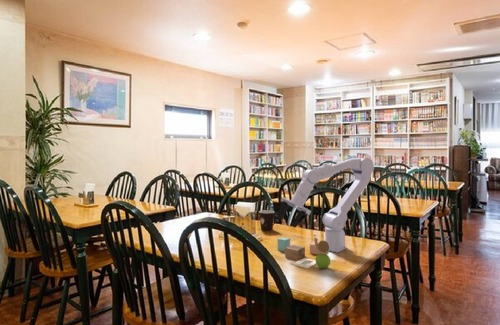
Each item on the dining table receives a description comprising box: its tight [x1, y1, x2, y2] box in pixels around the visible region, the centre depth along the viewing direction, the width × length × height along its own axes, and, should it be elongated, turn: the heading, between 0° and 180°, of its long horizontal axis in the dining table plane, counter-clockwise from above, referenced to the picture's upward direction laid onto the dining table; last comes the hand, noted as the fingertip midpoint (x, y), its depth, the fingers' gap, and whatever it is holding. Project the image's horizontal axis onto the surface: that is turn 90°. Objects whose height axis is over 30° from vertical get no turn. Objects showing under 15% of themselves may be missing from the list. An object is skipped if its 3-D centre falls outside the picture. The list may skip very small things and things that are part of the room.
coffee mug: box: [258, 209, 279, 232], centre depth 187 cm, size 12×9×10 cm
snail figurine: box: [313, 234, 331, 269], centre depth 128 cm, size 5×6×12 cm
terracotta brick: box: [309, 241, 321, 255], centre depth 147 cm, size 4×4×4 cm
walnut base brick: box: [284, 244, 306, 261], centre depth 142 cm, size 6×6×4 cm
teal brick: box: [277, 236, 291, 252], centre depth 151 cm, size 4×4×5 cm
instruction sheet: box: [292, 257, 317, 269], centre depth 133 cm, size 9×7×1 cm
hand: (286, 223), depth 144 cm, fingers open, 7 cm apart
